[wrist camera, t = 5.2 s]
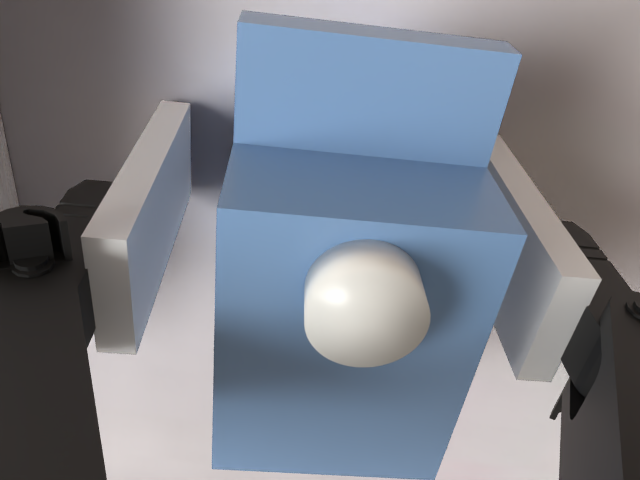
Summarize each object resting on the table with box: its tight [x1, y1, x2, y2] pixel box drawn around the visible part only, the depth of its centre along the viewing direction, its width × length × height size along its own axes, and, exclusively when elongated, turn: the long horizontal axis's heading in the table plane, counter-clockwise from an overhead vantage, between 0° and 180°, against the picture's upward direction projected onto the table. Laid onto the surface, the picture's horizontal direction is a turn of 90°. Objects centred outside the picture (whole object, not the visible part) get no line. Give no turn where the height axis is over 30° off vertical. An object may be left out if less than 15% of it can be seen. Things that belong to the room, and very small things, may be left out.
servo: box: [212, 10, 528, 480], centre depth 13 cm, size 10×4×9 cm, turn 173°
